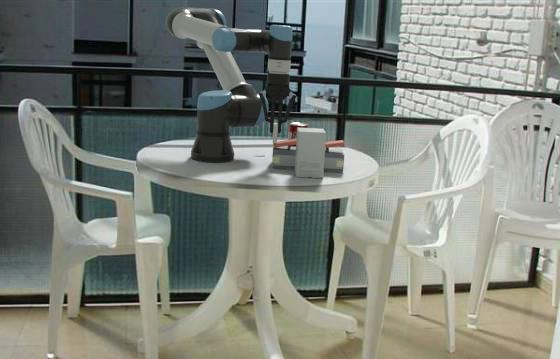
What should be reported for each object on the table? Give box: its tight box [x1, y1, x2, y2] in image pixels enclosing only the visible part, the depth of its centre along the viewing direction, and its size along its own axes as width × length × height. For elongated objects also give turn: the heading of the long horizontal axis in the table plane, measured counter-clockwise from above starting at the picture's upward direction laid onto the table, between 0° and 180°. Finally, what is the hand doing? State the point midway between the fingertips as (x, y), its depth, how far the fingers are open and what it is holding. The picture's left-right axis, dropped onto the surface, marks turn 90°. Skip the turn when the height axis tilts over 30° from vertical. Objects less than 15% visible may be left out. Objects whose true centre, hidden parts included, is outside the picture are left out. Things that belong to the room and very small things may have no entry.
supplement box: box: [294, 127, 327, 179], centre depth 223 cm, size 9×9×15 cm
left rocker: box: [272, 139, 296, 148], centre depth 234 cm, size 11×4×1 cm, turn 90°
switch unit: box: [271, 145, 345, 173], centre depth 235 cm, size 24×10×7 cm, turn 90°
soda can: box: [287, 122, 310, 147], centre depth 253 cm, size 7×7×12 cm
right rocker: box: [325, 139, 345, 149], centre depth 234 cm, size 11×4×1 cm, turn 90°
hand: (274, 142), depth 234 cm, fingers closed
